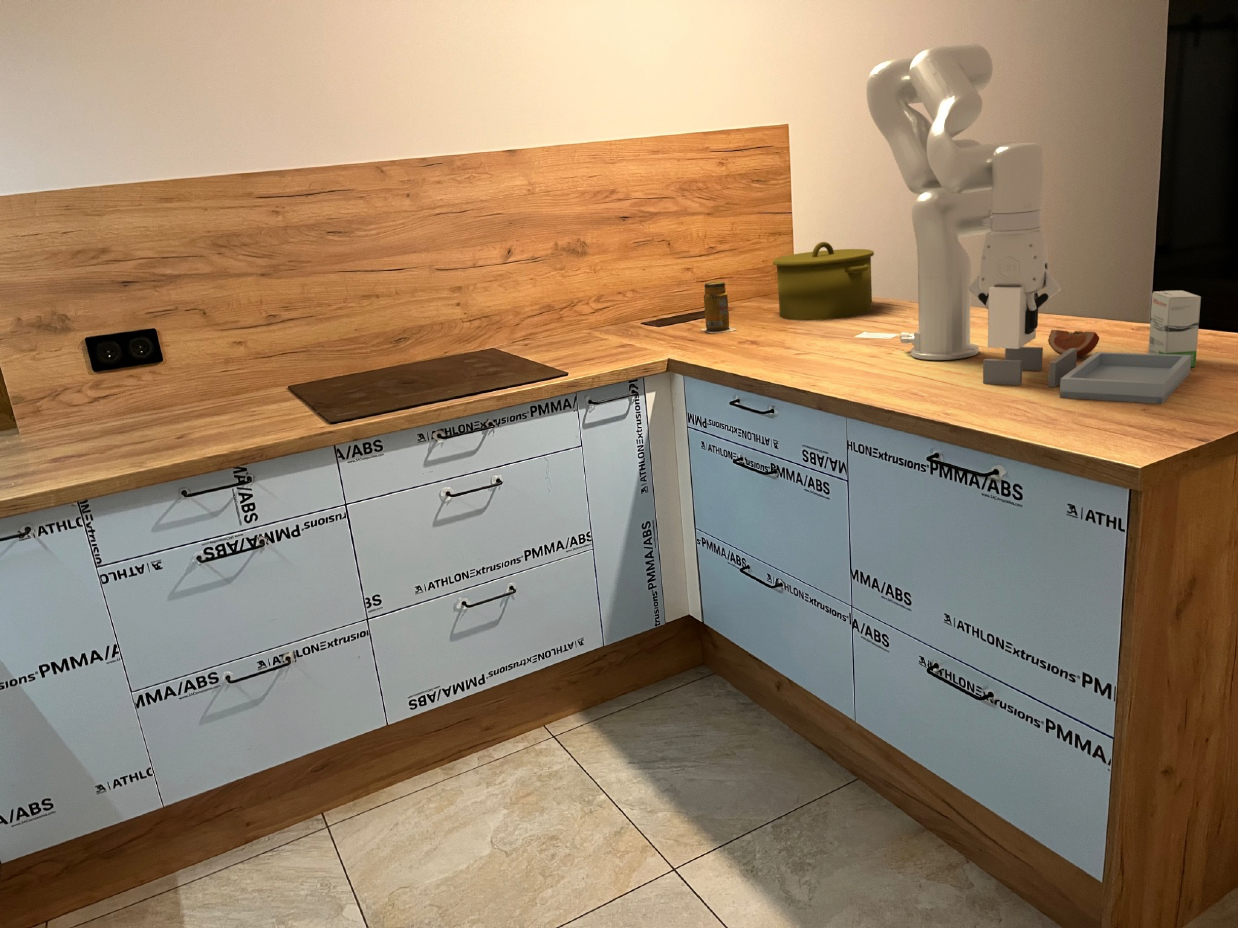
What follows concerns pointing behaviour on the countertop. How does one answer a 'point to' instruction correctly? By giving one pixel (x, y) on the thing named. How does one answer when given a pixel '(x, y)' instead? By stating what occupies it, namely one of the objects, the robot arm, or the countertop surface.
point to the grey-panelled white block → (1007, 317)
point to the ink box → (1174, 323)
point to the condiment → (716, 308)
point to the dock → (1027, 366)
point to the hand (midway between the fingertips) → (1012, 331)
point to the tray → (1126, 377)
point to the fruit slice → (1073, 341)
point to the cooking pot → (824, 283)
